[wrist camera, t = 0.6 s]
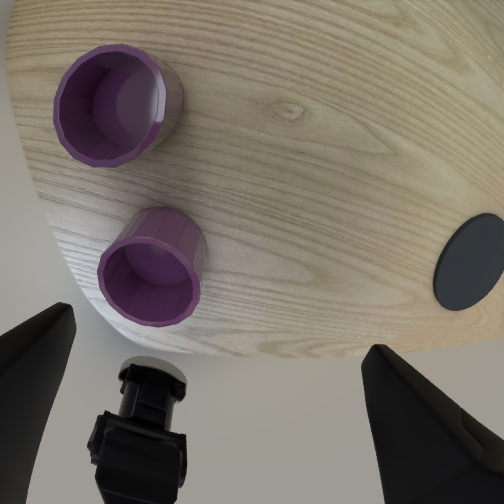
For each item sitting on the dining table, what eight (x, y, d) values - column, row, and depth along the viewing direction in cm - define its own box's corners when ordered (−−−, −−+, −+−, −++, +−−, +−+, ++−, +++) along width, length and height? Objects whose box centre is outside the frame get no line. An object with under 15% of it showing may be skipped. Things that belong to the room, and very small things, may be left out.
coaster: (463, 319, 25) (465, 321, 25) (413, 286, 22) (416, 290, 22) (518, 244, 21) (521, 247, 21) (480, 191, 18) (484, 193, 18)
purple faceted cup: (157, 166, 17) (134, 187, 13) (78, 131, 15) (39, 143, 12) (202, 77, 15) (190, 69, 11) (116, 44, 13) (82, 31, 9)
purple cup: (186, 297, 22) (177, 340, 18) (112, 264, 20) (89, 301, 16) (222, 231, 19) (218, 267, 15) (138, 191, 18) (112, 218, 14)
